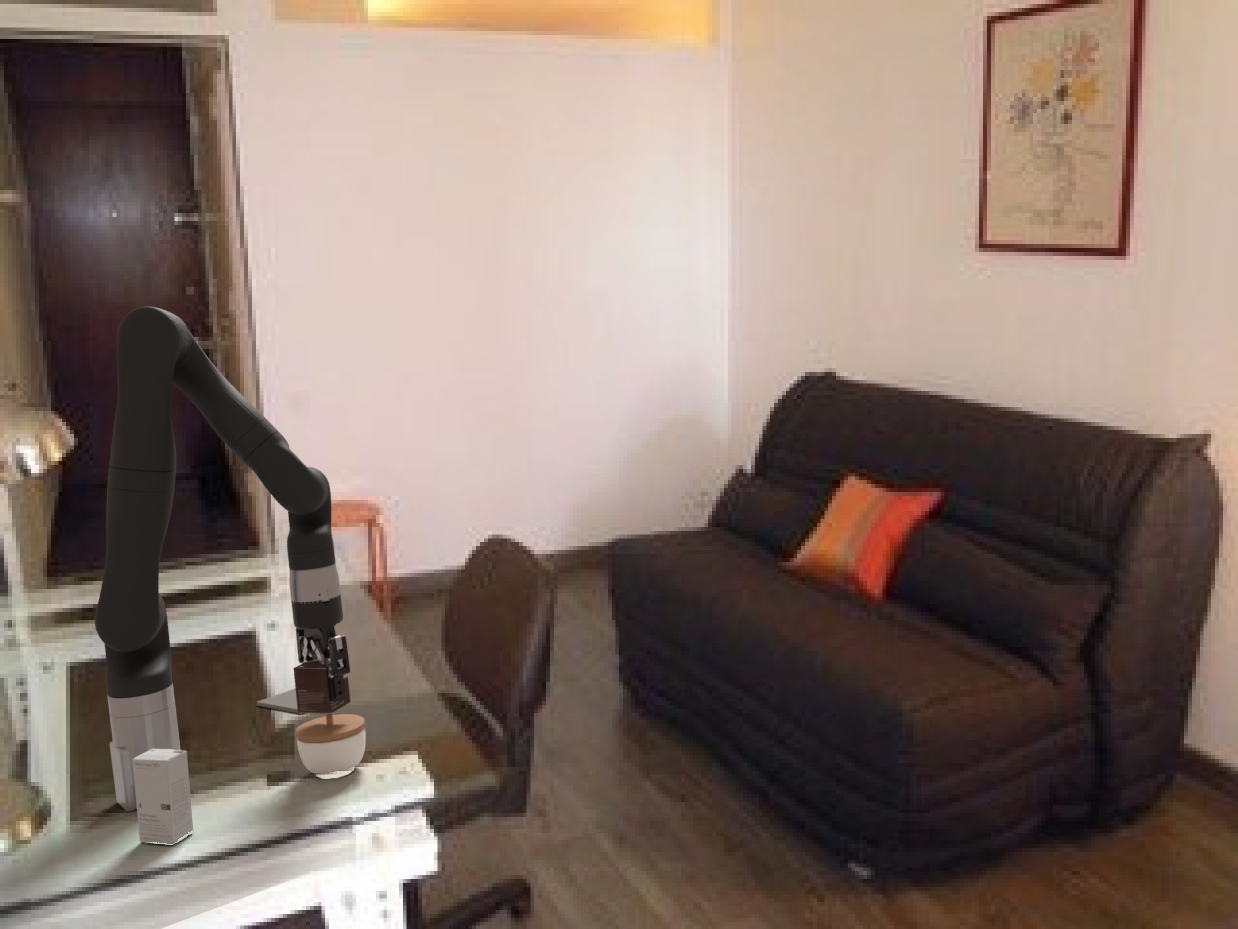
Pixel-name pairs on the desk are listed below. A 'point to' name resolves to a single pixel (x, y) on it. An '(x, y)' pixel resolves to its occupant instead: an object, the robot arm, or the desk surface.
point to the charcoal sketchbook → (281, 702)
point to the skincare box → (162, 795)
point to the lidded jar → (331, 742)
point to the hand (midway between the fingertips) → (327, 695)
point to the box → (316, 689)
